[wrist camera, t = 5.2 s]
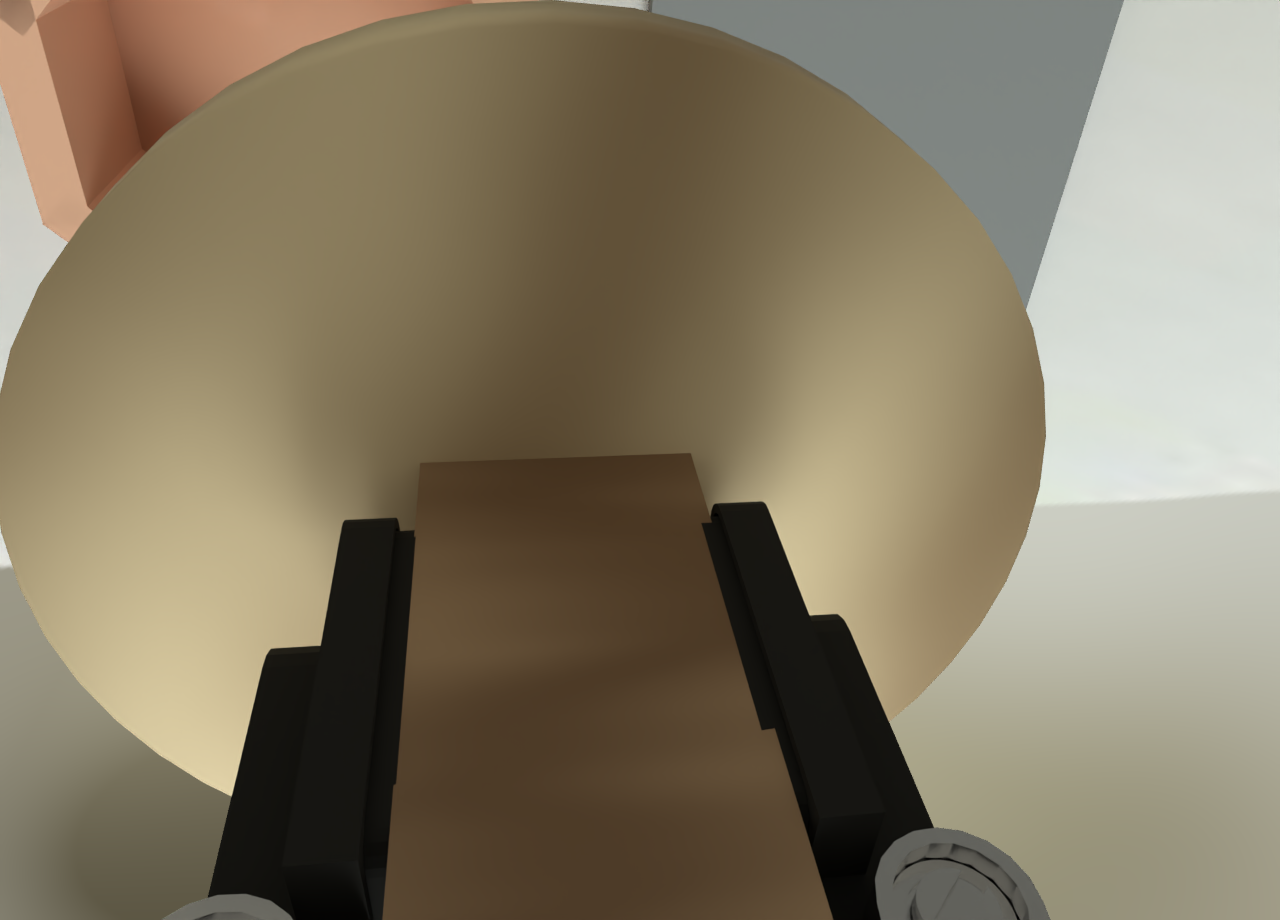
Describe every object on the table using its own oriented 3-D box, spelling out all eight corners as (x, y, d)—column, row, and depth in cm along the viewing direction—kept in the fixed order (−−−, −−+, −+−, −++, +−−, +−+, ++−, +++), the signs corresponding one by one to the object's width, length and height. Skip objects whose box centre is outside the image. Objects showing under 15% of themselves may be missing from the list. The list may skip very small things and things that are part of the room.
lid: (1144, 16, 10) (2025, 356, 4) (903, 768, 17) (1117, 1276, 11) (-161, -20, 8) (-1529, 460, 3) (166, 829, 15) (-19, 1462, 10)
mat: (1118, -28, 25) (1131, -23, 24) (993, 379, 32) (1000, 388, 31) (652, -50, 23) (655, -46, 23) (626, 381, 30) (628, 391, 30)
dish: (549, -183, 22) (557, -171, 18) (546, 277, 28) (553, 354, 24) (15, -218, 20) (-92, -213, 17) (140, 274, 27) (82, 355, 23)
